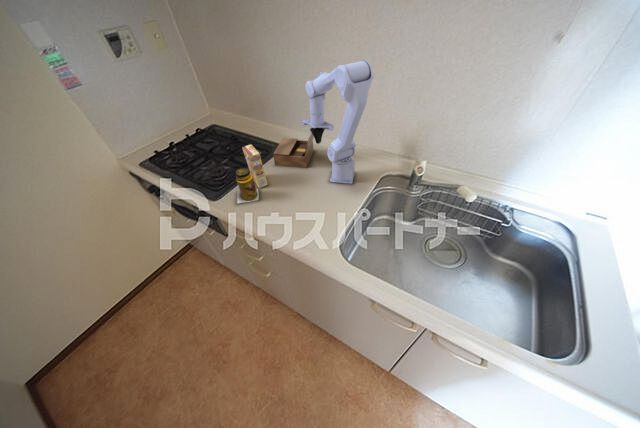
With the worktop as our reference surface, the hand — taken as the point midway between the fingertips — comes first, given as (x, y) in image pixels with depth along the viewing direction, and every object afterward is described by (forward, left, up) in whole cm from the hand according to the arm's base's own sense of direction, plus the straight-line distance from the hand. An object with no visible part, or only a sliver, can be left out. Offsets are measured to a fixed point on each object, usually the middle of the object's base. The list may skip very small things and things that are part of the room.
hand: (318, 142), depth 107 cm
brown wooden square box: (+12, +1, -9) cm, 15 cm away
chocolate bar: (+8, +1, -8) cm, 12 cm away
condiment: (+23, +31, -9) cm, 40 cm away
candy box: (+22, +21, -9) cm, 32 cm away
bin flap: (+4, +1, +1) cm, 4 cm away
